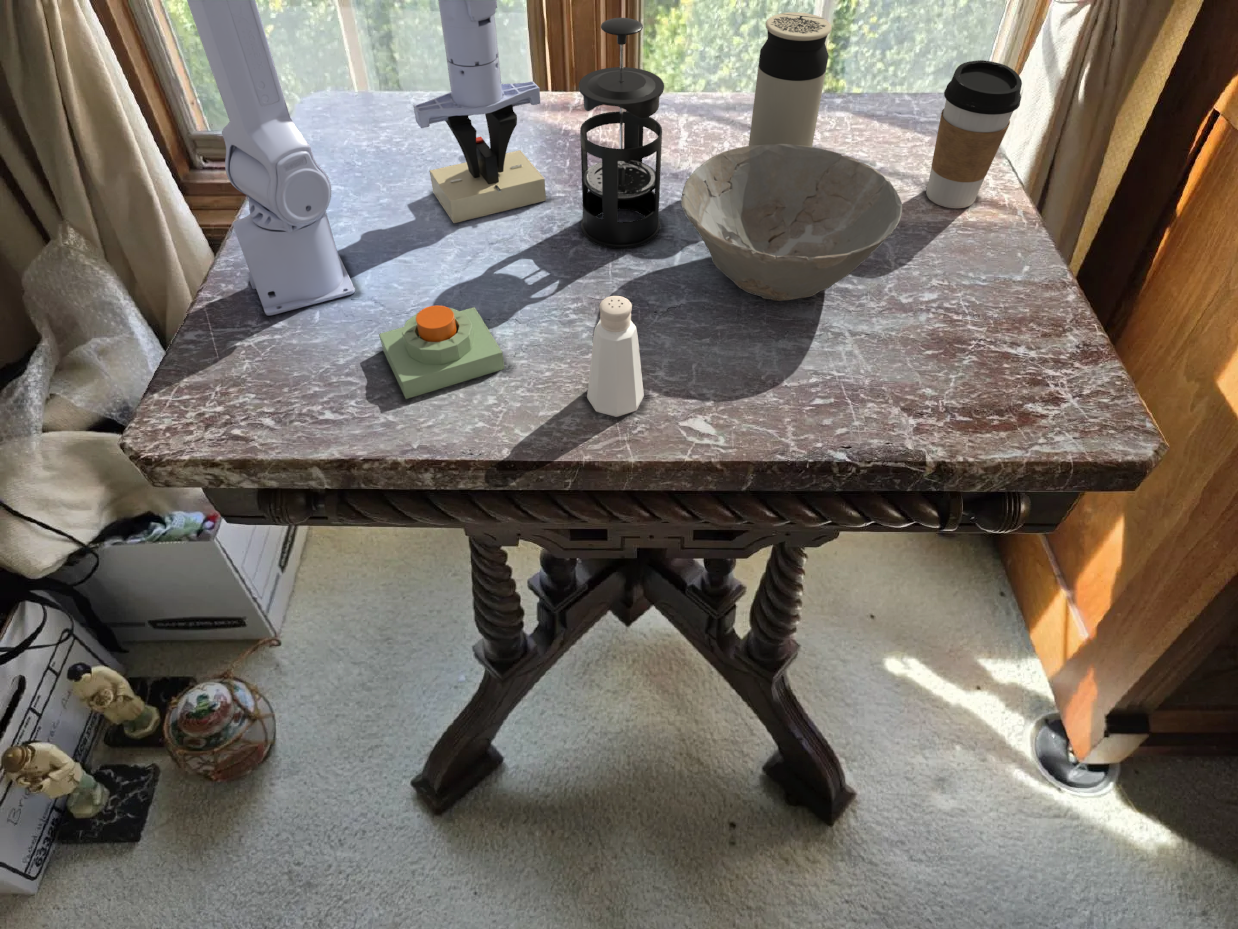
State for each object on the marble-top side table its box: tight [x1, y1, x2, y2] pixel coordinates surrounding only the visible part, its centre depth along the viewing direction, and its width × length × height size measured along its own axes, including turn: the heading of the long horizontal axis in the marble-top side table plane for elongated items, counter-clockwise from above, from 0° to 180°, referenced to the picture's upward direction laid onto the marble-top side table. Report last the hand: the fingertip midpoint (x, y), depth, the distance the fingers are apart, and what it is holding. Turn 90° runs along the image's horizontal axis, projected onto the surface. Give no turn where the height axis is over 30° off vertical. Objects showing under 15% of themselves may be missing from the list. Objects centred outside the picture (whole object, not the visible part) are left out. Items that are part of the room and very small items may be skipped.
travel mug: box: [748, 11, 832, 147], centre depth 104 cm, size 8×8×18 cm
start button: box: [416, 304, 456, 342], centre depth 81 cm, size 4×4×2 cm
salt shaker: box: [586, 295, 645, 418], centre depth 77 cm, size 5×5×11 cm
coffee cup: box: [925, 59, 1023, 209], centre depth 101 cm, size 8×8×15 cm
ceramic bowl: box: [680, 144, 903, 302], centre depth 91 cm, size 22×23×10 cm
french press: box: [578, 17, 665, 250], centre depth 93 cm, size 12×9×23 cm
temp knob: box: [476, 136, 499, 184], centre depth 102 cm, size 5×1×4 cm, turn 26°
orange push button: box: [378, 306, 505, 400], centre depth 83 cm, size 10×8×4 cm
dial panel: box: [429, 149, 547, 224], centre depth 105 cm, size 12×9×3 cm
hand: (486, 171), depth 103 cm, fingers closed
